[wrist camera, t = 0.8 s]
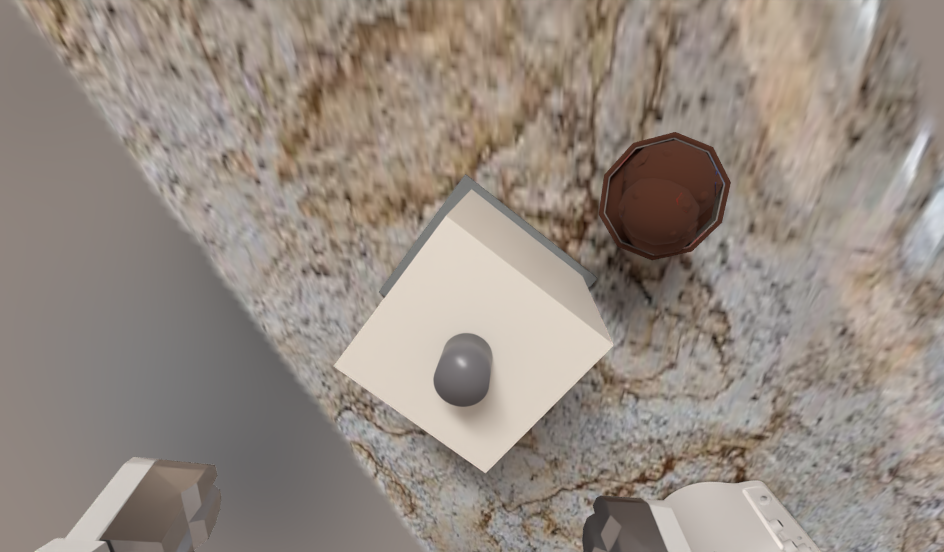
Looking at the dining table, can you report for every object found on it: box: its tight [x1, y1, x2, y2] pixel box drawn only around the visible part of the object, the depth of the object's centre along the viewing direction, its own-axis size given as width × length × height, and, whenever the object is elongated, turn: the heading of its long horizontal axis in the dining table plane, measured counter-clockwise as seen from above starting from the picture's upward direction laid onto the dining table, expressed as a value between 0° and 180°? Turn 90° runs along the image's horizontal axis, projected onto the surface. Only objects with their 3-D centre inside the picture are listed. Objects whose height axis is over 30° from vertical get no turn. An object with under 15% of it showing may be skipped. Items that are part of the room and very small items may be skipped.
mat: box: [379, 175, 597, 297], centre depth 52 cm, size 19×18×1 cm
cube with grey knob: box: [334, 189, 614, 473], centre depth 42 cm, size 16×16×22 cm
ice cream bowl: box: [599, 132, 731, 260], centre depth 41 cm, size 11×11×15 cm
